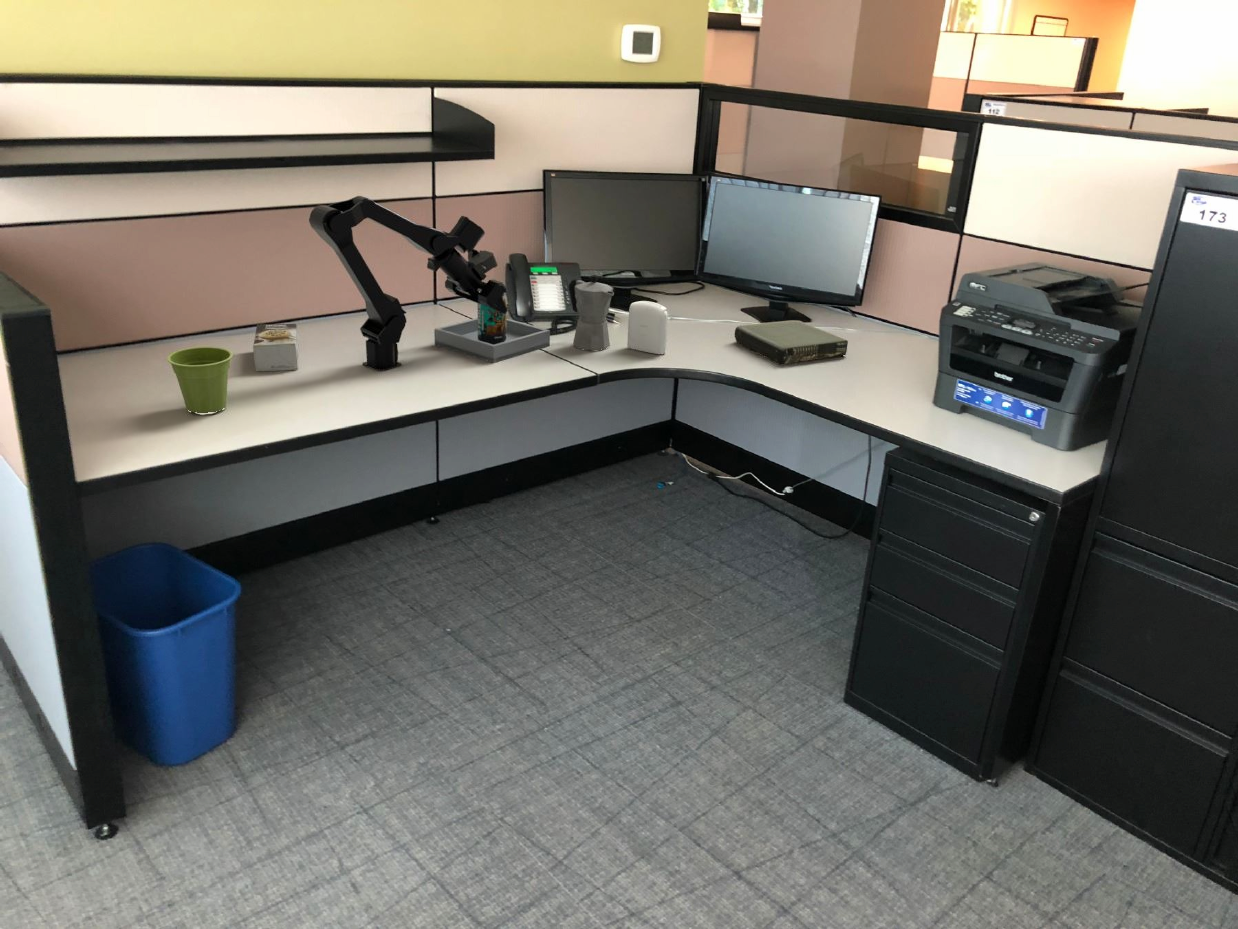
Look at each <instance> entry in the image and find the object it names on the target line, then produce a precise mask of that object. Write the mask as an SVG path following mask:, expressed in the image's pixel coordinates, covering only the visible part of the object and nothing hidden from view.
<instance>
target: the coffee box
mask: <svg viewBox="0 0 1238 929" xmlns="http://www.w3.org/2000/svg"><path fill="white" fill-rule="evenodd" d="M252 345H253V346H252V350H253V357H254V358H253V359H254V367H255V371H256V372H273V371H275V372H276V371H277V370H278V371H295V370H296V371H297V370H298V369H299V366H298V365H299V350H300V349H299V347H300V346H299V335H298V326H297V323H266V324H262V323H261V324H260V323H259V324H258V323H257V324H256V330H255V335H254V340H253V344H252Z"/></svg>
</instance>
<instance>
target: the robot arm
mask: <svg viewBox="0 0 1238 929" xmlns="http://www.w3.org/2000/svg"><path fill="white" fill-rule="evenodd" d="M366 219H368V220H369V221H372V222H374V223H376V224H378V225H380V226H381V227H384V228H385V229H388V230H389V231H392V232H394V233H395V234H398V235H400V236H401V237H403V238H404V239H405V240H406V241H407V242H408V243H409V244H410V245H411V246H413V247H414V248H415V249H417V250H418V251H421V252H423V253H426V254H429V255H432V257H428V258H427V266H426V268H427V269H428V270H429V271H430V270H431V271H434V272H438V270H439V269H440V270H441V271H442V272H443V273H444V274H445V275H446V280H445V281H444V288H445V289H446V290H447V291H448V292H450V293H452V294H454V295H456V296H458V297H460V298H463V299H466V300H468V301H471V302H474V303H476V304H478V300H479V301H480V302H481V303H482V304H484V306H486V307H489V308H491V309H494V310H496V311H499V312H501V313H504V314H506V312H508V308H506V305H505V303H504V300H503V298H502V295H503V294H504V295H505V292H506V291H507V286H506V285H505V283H503V282H501V281H499V280H496V279H489V280H488V281H487V282H485V279H486V278H487V275H486V274H487V273H488V272H490V271H491V270H492V269H495V268H496V267H498V265H499V264H498V262H497V260H496V257H495V254H494V253H493V252H491V251H487V250H481V249H480V250H479V251H478V250H477V249H475V248H476V246H477V245H478V243H479V242H480V241H481V240H482V238H484V236H485V235H486V233H485V232H486V231H485V230H484V229H483V228H482V227H481V226H480V225H478V224H476V222H475V221H473V220H471V219H470V218H469V217H468V216H465V215H461V216H460V217H459V218H458V220H457V222H456V224H455V226H453V227H452V229H451V230H450V232H446V231H444V230H440V229H437V228H434V227H431V226H427V225H424V224H419V223H417V222H413V221H411V220H409V219H408V218H405V217H404V216H402V215H400V214H398V213H397V212H394V211H393V210H390V209H388V208H387V207H385V206H382V205H380V204H379V203H376V202H375V201H374V200H373V199H372V198H369V197H366V196H363V195H357V196H354V197H352V198H350V199H347V200H342V201H338V202H334V203H330V204H328V205H324V204H321V205H317V206H315V207H314V208H313V209H312V210H311V212H310V215H309V218H308V221H309V222H308V223H309V225H310V227H311V228H312V229H313V231H315V233H316V234H317V235H318V236H319V237H320V238H321V239H322V240H323V241H324V242H325V243H326V244H327V245H328V246H329V247H331V248H332V249H333V251H334V252H335V254H336V255H337V257H338V259H339V260H340V262H341V264H342V265H343V267H344V268H345V271H346V273H347V274H348V275H349V276H350V278H351V280H352V282H353V284H354V285H355V286H356V289H357V290H358V292H359V293H360V295H361V296H362V298H363V300H364V302H365V311H366V313H367V316H368V318H367V319H366V320H365V322H364V323H363V324H362V325H361V326H360V328H359V330H360V332H361V335H362V337H364V338H367V339H365V348H366V349H365V354H366V356H365V357H366V361H363V362H362V363H361V364H362V366H364V367H367V368H370V369H373V370H376V371H378V372H379V371H380V372H383V371H386V370H390V369H393V368H397V367H400V366H402V362H400V361H398V360H399V353H398V352H399V351H398V348H399V347H398V344H399V343H400V341H401V339H402V337H401V336H402V334H403V331H404V329H405V327H406V324H407V318H406V315H405V314H407V311H405V309H403V307H402V305H401V303H400V300H399V299H398V298H397V297H395V296H392V295H390V294H388V293H385V292H384V291H383V289H382V287H381V286H380V285H379V283H378V281H377V279H376V278H375V276H374V275H373V273H372V271H371V269H370V268H369V266H368V264H367V263H366V261H365V259H364V258H363V256H362V254H361V253H360V251H359V249H358V247H357V246H356V244H355V241H354V236H353V235H354V233H353V228H355V227H356V226H358V225H359V224H360V223H361V222H363V221H364V220H366ZM466 252H467V259H466V258H465V257H464V256H463V255H462V254H466ZM461 253H462V254H461Z"/></svg>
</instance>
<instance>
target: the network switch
mask: <svg viewBox="0 0 1238 929" xmlns="http://www.w3.org/2000/svg"><path fill="white" fill-rule="evenodd" d="M734 339H735V342H736V343H737V344H739V345H740V344H741V345H740V346H742V345H743V346H742V347H744V346H745V347H744V348H746V347H747V348H746V349H748V348H749V350H750V349H751V351H752V350H753V352H754V351H755V352H754V353H757V354H758V355H760V354H761V355H760V356H762V355H763V356H762V357H764V356H765V357H764V358H766V357H767V358H766V359H768V360H770V361H771V360H772V361H771V362H773V361H774V362H773V363H775V362H776V363H775V364H777V363H778V365H779V366H784V365H788V364H790V363H793V362H794V363H798V362H799V361H800V362H807V361H813V360H816V359H817V360H818V359H819V360H820V359H825V358H830V357H839V356H842V355H845V356H846V354H847V352H848V343H849V340H847V339H845V338H842V337H839V336H837V335H836V334H835V335H834V334H832V333H830V332H827V331H825V330H823V329H821V328H818V327H815V326H813V325H810V324H808V323H805V322H803V321H801V320H793V319H792V320H782V321H771V322H763V323H753V324H752V323H751V324H742V325H737V326H736V327H735V330H734ZM819 360H818V361H819Z"/></svg>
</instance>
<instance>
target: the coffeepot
mask: <svg viewBox="0 0 1238 929" xmlns="http://www.w3.org/2000/svg"><path fill="white" fill-rule="evenodd" d="M590 278H591V281H589V282H586V281H584V280H578V279H576V278H573V279H572V280H571V281H570V282H569V284H568V291H569V295H570V296H569V298H570V301H571V306H572V310H573V311H574V313H578V314H579V316H578V318H579V319H578V320H577V324H576V328H575V333H574V338H573V341H572V345H573V346H574V347H575V348H576V347H577V348H576V349H578V348H579V349H578V350H581V349H584V350H583V351H587V350H591V351H590V352H593V351H592V350H601V349H605V350H607V349H608V348H609V347H610V346H611V344H610V343H611V342H610V336H609V335H610V334H609V327H608V326H609V325H608V321H607V316H608V314H609V311H610V305H611V300H612V297H613V296H614V294H615V292H614V288H613V287H612V286H610V285H608V284H606V283H601V282H597V281H598V275H596V274H592V275H591V276H590ZM608 346H609V347H608ZM607 347H608V348H607ZM606 348H607V349H606ZM601 351H602V350H601Z"/></svg>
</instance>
